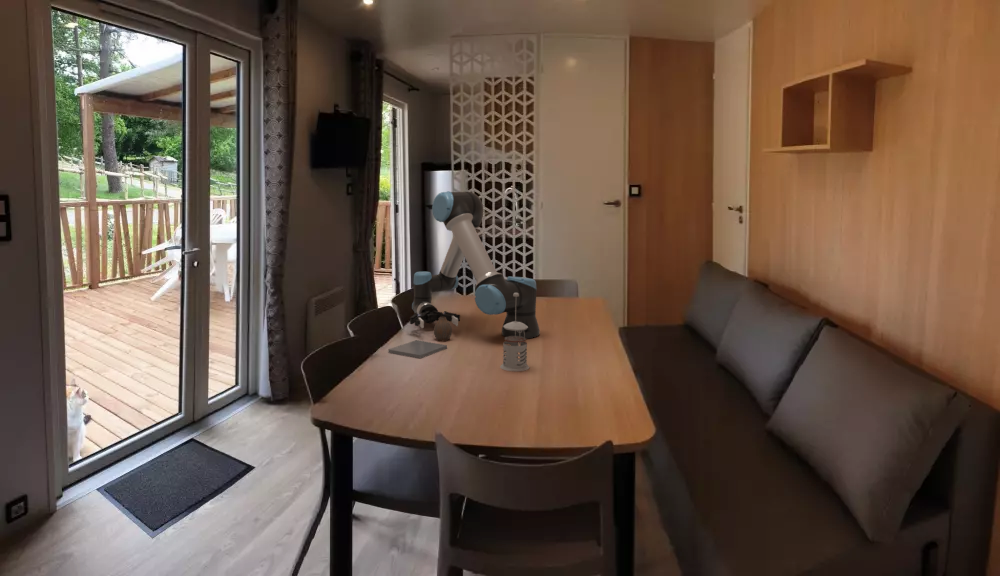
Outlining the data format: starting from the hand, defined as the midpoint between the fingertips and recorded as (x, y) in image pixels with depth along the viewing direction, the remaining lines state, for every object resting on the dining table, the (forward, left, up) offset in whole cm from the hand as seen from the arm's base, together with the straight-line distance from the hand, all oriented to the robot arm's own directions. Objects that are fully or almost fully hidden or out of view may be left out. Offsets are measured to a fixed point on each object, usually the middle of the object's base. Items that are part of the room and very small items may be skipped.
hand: (440, 323), depth 249 cm
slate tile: (-4, +19, -6) cm, 20 cm away
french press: (-43, +17, -6) cm, 47 cm away
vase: (-2, +1, -6) cm, 7 cm away
